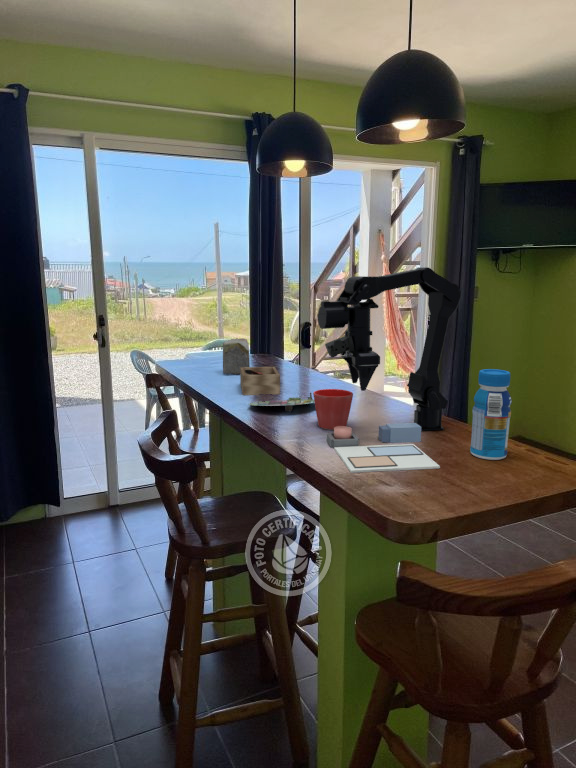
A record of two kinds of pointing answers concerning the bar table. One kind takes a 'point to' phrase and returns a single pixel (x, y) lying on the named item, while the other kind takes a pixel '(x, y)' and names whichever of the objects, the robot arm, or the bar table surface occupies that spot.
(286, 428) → the bar table surface
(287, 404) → the city model
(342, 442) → the button housing
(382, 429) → the blue paint stick
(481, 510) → the bar table surface
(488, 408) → the beverage bottle
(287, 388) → the bar table surface
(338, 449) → the white sorting board
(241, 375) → the open wooden box
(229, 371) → the geological specimen
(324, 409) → the flower pot
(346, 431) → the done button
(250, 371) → the stuffed fox
